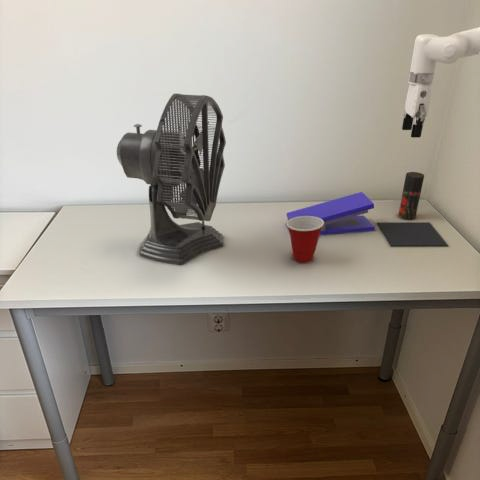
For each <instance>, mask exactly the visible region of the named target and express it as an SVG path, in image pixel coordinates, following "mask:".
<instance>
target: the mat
mask: <svg viewBox="0 0 480 480" xmlns="http://www.w3.org/2000/svg"><path fill="white" fill-rule="evenodd" d="M376 224H377V225H378V227H379V229H380V230H381V233H382V234H383V236H384V238H385V239H386V241H387V242H388V244H389V246H390V247H394V248H395V247H397V248H398V247H448V246H449V245H448V244H447V242H446V241H445V240H444V238H443V237H442V236H441V234H439V233H438V230H437V229H435V228H434V226H433V224H431V222H430V221H426V222H423V221H420V222H418V221H416V222H415V221H414V222H413V221H412V222H411V221H410V222H408V221H407V222H405V221H403V222H402V221H401V222H399V221H398V222H397V221H396V222H394V221H393V222H391V221H390V222H388V221H387V222H386V221H385V222H376Z"/></svg>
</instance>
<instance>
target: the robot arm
mask: <svg viewBox="0 0 480 480" xmlns="http://www.w3.org/2000/svg"><path fill="white" fill-rule="evenodd" d="M479 52H480V26H478V27H473V28H470V29H467V30H463V31H458V32H455V33H452V34H449V35H447V36H440V35H438V34H432V33H423V34H418V35H417V36H416V38H415V40H414V46H413V52H412V57H411V63H410V69H409V76H408V80H407V84H409V85H408V90H407V94H406V98H405V105H404V114H403V120H402V126H401V130H402V131H411V133H410V137H411V138H414V139H415V138H421V136H422V133H423V127H424V124H425V121H426V118H427V117H428V115H429V108H430V103H431V102H430V101H431V92H432V85H433V82H434V77H435V72H436V67H437V63H443V64H448V65H449V64H450V65H451V64H455V63H456V62H457V61H459V60H460V59H463V58H468V57H472V56H477V55H480V54H479Z"/></svg>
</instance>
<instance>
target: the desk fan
mask: <svg viewBox="0 0 480 480" xmlns="http://www.w3.org/2000/svg"><path fill="white" fill-rule="evenodd" d="M199 118H201V120H199ZM214 119H216V120H215V121H214ZM223 120H224V115H223V113H222V110H221V108H220V106H219V104H218V103H217V101H216V100H215V99H214V98H213V97H211V96H210V95H205V94H204V95H203V94H201V95H199V94H182V93H173V94H171V96H170V97H169V99H168V100H167V102H166V103H165V106H164V109H163V111H162V114H161V115H160V119H159V120H158V121H159V122H158V125H157V128H156V129H148V130H146V131H145V132H144V133H141V127H143V125H142V124H140V123H135V124H134V125H133V128H135V129H136V132H126V133H125V134H124V135H123V136H122V137H121V139H120V140H119V142H118V143H117V146H116V158H117V161H118V162H119V164H120V166H121V167H122V169H123V170H122V171H123V173H124V175H125V176H126V178H129V179H138V180H142V181H144V182H145V184H146V185H149V186H148V204H149V215H150V228H149V231H148V232H147V235H146V237H145V238H144V239H143V241H142V242H141V244H140V246H139V250H138V254H139V257H142V258H145V259H148V260H151V261H154V262H158V263H162V264H163V263H164V264H169V265H176V266H177V265H178V266H181V265H184V264H185V263H187V262H188V261H189V260H191V259H193V258H195V257H197V256H199V255H201V254H203V253H207V252H208V251H212V250H215V249H219V248H222V247H224V243H223V241H222V238H223V234H222V233H221V232H219V231H218V230H217V229H216V228H215V227H213V226H212V225H207V224H205V221H206V222H210V221H211V220H212V217H213V213H214V210H215V208H216V206H217V202H218V201H217V200H218V195H219V190H220V184H221V181H222V177H223V174H224V170H225V166H226V163H225V158H224V151H225V147H226V145H227V142H226V136H225V132H224V129H223ZM210 121H211V123H210ZM200 123H201V126H199V125H200ZM212 123H213V124H212ZM213 126H214V127H213ZM210 141H212V143H210ZM209 143H210V144H209ZM167 210H168V211H169V212H170V214H171V216H172V217H171V216H170V215H169V212H168V211H167ZM172 218H173V219H183V220H184V219H185V220H194V221H196V222H190V223H183V224H178V223H177V222H175V221H174V220H173V219H172Z"/></svg>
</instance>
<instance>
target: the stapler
mask: <svg viewBox="0 0 480 480" xmlns="http://www.w3.org/2000/svg"><path fill="white" fill-rule="evenodd" d="M372 209H375V203H374V202H373V201H372V200H371V199H370V198H369V196H367V195H366V194H365V193H364V192H363V191H360V192H357V193H353V194H349V195H346V196H342V197H339V198H335V199H331V200H327V201H325V202H321V203H317V204H314V205H310V206H306V207H303V208H299V209H296V210H292V211H289V212H286V219H287V221H288V220H290V219H291V218H295V217H300V216H313V217H318V218H320V219H322V220H323V221H324V224H323V227H322V229H321V232H320V235H319V236H321V235H332V234H333V235H334V234H346V233H357V232H371V231H375V229H376V226H375V225H374V224H373V223H372V222H371V221H370V220H369V219H368V218H367V217H366V216H365V214H368V213H369V210H372Z"/></svg>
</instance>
